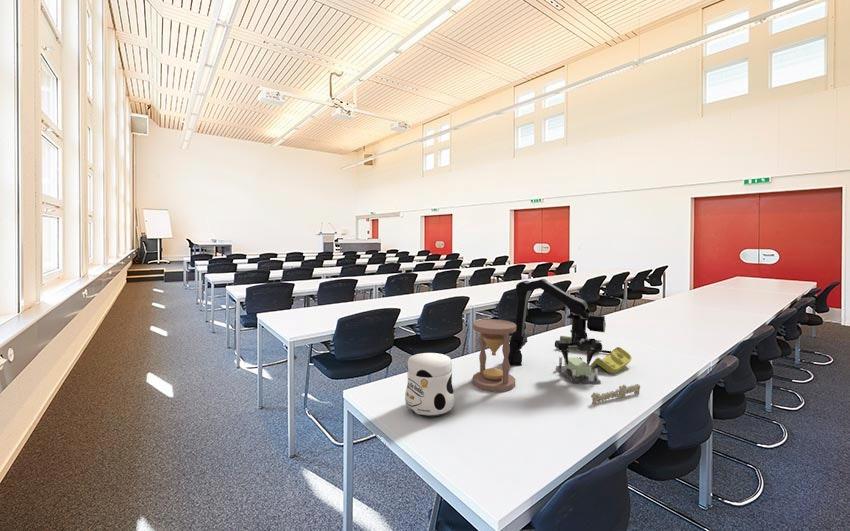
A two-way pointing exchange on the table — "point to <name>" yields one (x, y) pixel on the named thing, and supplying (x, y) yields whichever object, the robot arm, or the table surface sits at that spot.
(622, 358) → the plastic component
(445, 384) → the milk container
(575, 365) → the board
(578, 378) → the chassis
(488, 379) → the hourglass
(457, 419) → the table surface
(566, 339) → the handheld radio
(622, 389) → the decorative sign
